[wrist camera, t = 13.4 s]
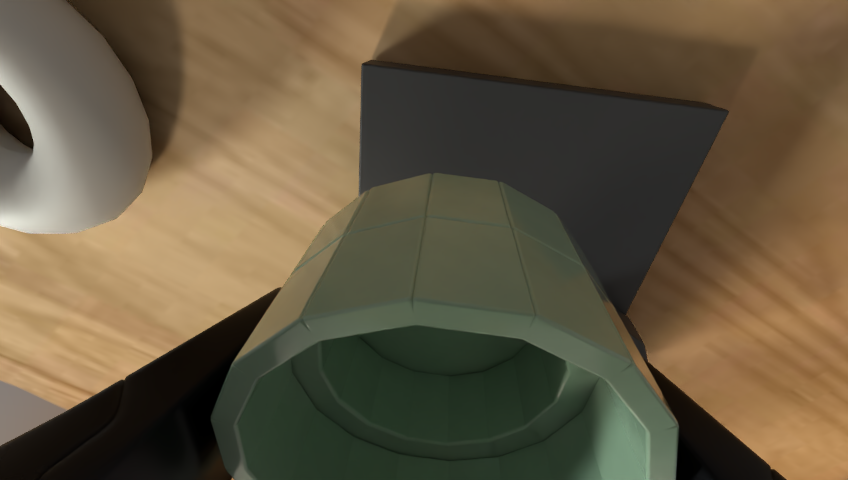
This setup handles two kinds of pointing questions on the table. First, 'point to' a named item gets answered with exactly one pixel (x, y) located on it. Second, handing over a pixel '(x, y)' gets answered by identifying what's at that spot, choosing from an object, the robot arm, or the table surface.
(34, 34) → the donut
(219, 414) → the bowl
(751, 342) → the table surface
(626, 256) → the scale
